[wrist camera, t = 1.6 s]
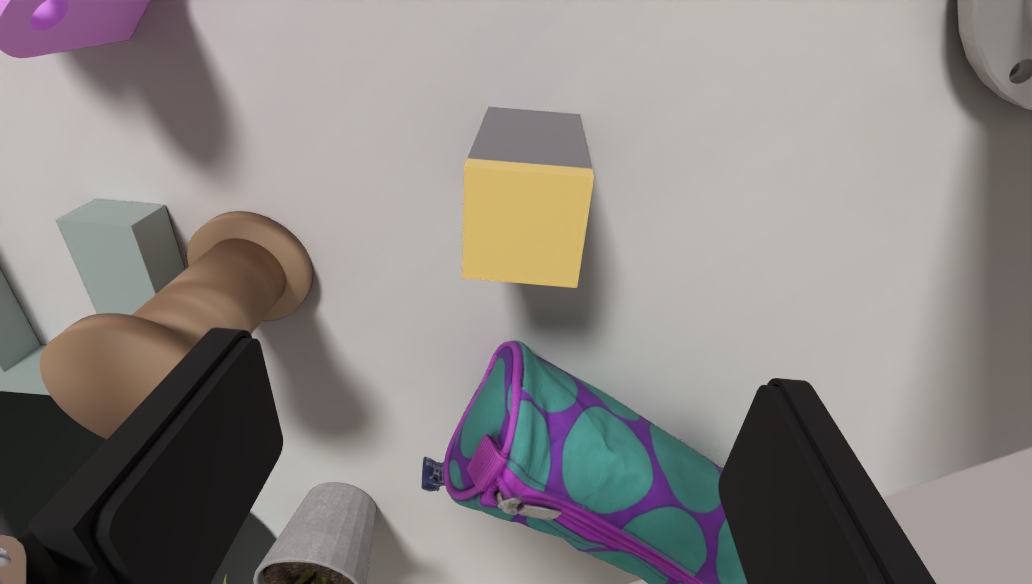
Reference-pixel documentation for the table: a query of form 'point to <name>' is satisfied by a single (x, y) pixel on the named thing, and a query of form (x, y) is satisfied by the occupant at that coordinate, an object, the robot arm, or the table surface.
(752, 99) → the table surface
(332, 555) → the house plant
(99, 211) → the notched board
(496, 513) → the pencil case
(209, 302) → the bobbin
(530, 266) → the yellow and grey block
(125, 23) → the bracket
